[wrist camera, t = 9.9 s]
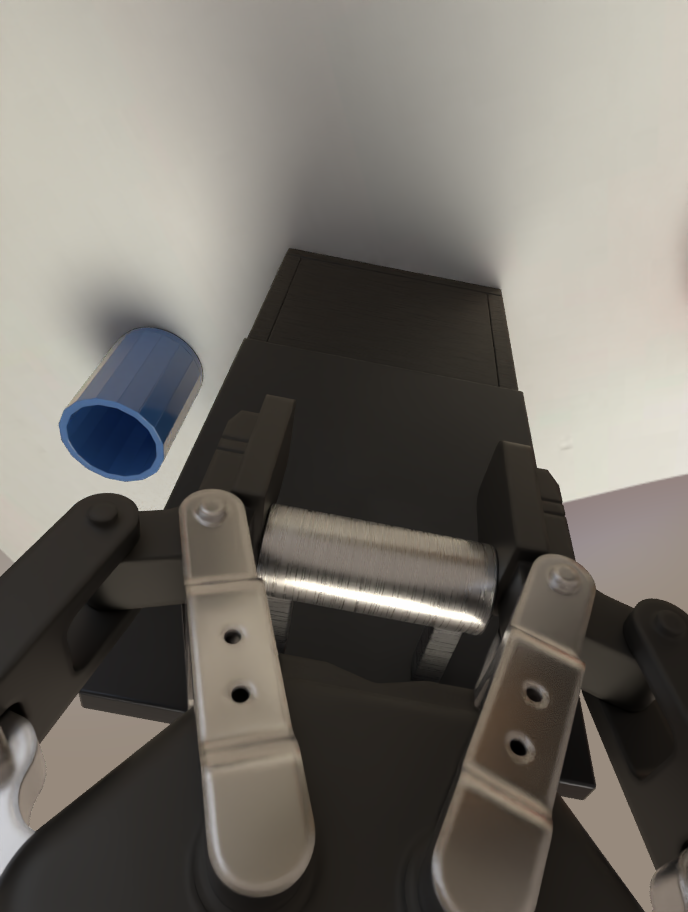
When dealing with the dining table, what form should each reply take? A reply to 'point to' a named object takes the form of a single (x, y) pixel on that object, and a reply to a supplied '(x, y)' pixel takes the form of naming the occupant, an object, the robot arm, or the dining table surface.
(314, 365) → the black box lid
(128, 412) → the cup
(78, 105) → the dining table surface
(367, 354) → the black lidded box
